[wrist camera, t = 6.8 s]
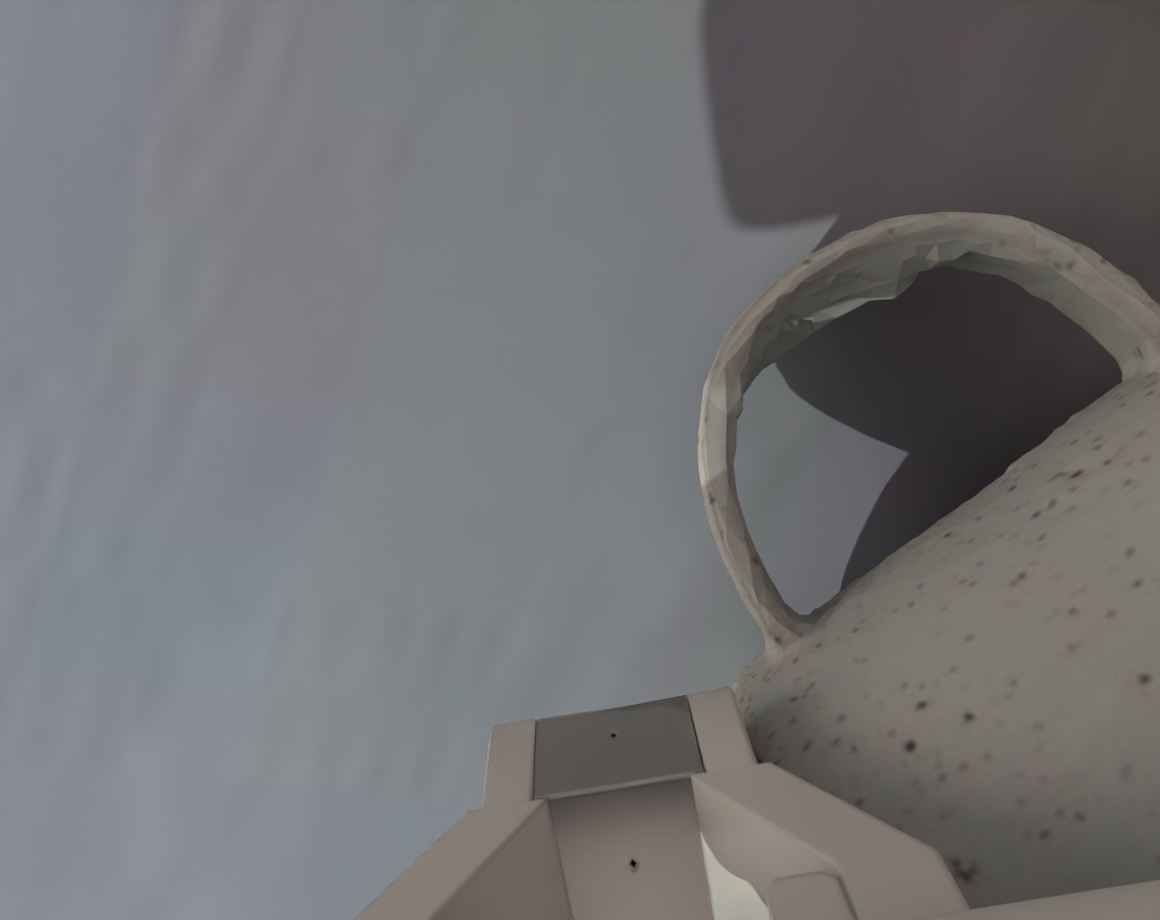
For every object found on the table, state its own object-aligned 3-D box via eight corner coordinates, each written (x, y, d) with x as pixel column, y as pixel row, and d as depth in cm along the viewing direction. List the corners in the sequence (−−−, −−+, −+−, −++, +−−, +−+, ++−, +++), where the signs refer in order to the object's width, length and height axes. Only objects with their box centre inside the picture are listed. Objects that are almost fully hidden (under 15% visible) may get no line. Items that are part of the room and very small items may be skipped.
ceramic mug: (1391, 599, 16) (2162, 977, 8) (971, 914, 17) (1316, 1489, 9) (990, 57, 13) (1571, -97, 6) (534, 471, 14) (538, 777, 7)
